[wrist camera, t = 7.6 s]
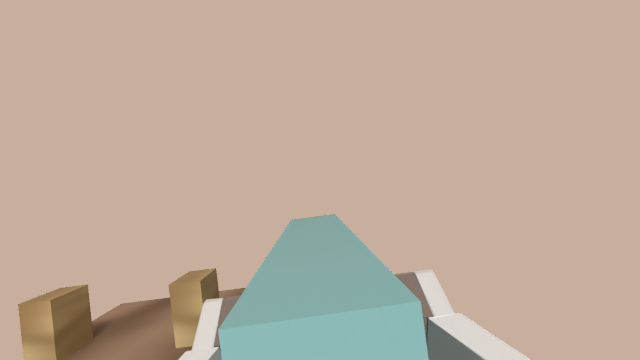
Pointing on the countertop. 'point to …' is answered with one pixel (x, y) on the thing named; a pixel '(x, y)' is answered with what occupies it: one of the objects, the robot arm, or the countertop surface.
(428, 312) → the robot arm
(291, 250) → the teal block
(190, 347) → the wooden cabinet unit
